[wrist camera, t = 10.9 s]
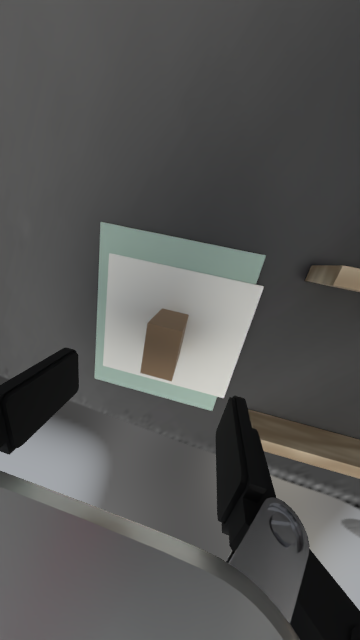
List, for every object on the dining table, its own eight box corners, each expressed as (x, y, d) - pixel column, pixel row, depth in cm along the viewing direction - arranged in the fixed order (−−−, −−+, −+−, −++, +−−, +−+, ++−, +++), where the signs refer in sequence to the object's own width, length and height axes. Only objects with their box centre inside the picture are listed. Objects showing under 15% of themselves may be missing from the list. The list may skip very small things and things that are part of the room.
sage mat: (102, 222, 18) (100, 221, 18) (264, 255, 17) (265, 255, 16) (96, 376, 25) (94, 378, 24) (212, 408, 23) (212, 410, 23)
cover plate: (113, 253, 18) (73, 249, 13) (261, 285, 17) (287, 295, 12) (106, 362, 23) (75, 392, 18) (223, 393, 22) (228, 436, 16)
